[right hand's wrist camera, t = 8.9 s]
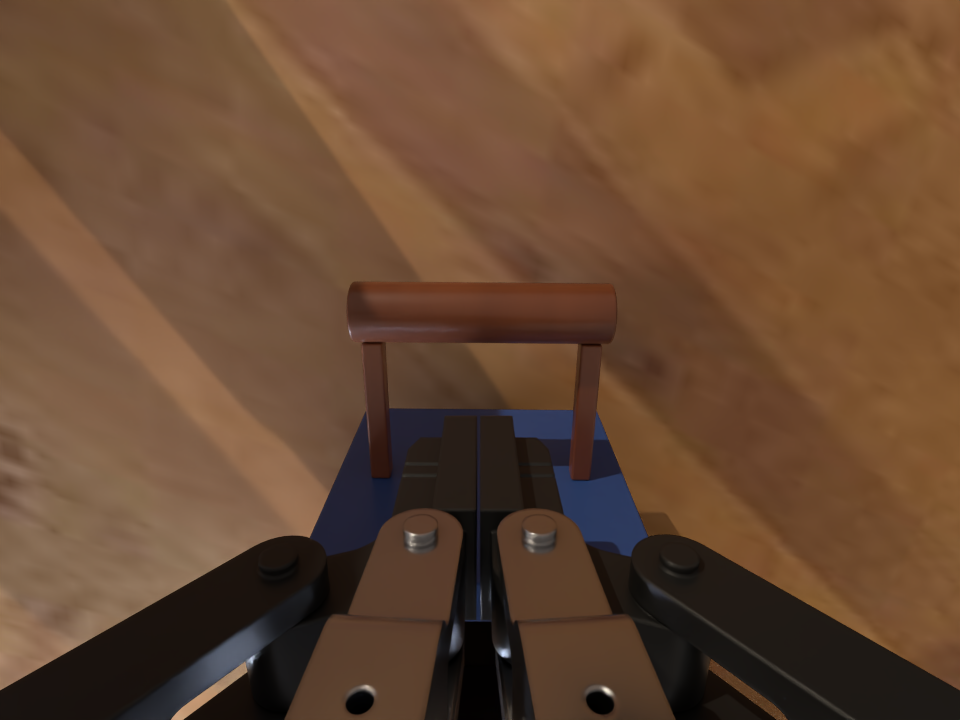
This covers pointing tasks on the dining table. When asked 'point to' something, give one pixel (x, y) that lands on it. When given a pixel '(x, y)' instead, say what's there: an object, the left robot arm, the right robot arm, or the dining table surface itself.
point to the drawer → (566, 433)
